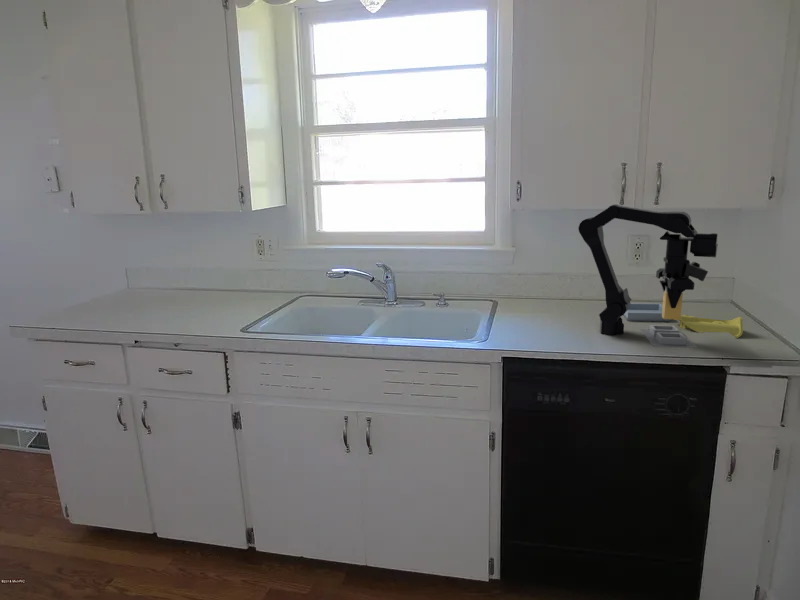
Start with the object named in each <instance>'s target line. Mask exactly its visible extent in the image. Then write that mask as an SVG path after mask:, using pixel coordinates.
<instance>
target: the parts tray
mask: <svg viewBox="0 0 800 600" xmlns="http://www.w3.org/2000/svg"><path fill="white" fill-rule="evenodd" d="M662 307H663V304H661V303H643V302H642V303H636V302H630V307H629V309H628V310H627V311H626V313H625V314H624V315H622V317H624V319H625V320H626V321H627V322H658V323H659V322H663V323H670V322H671V319H663V317H662Z"/></svg>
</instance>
